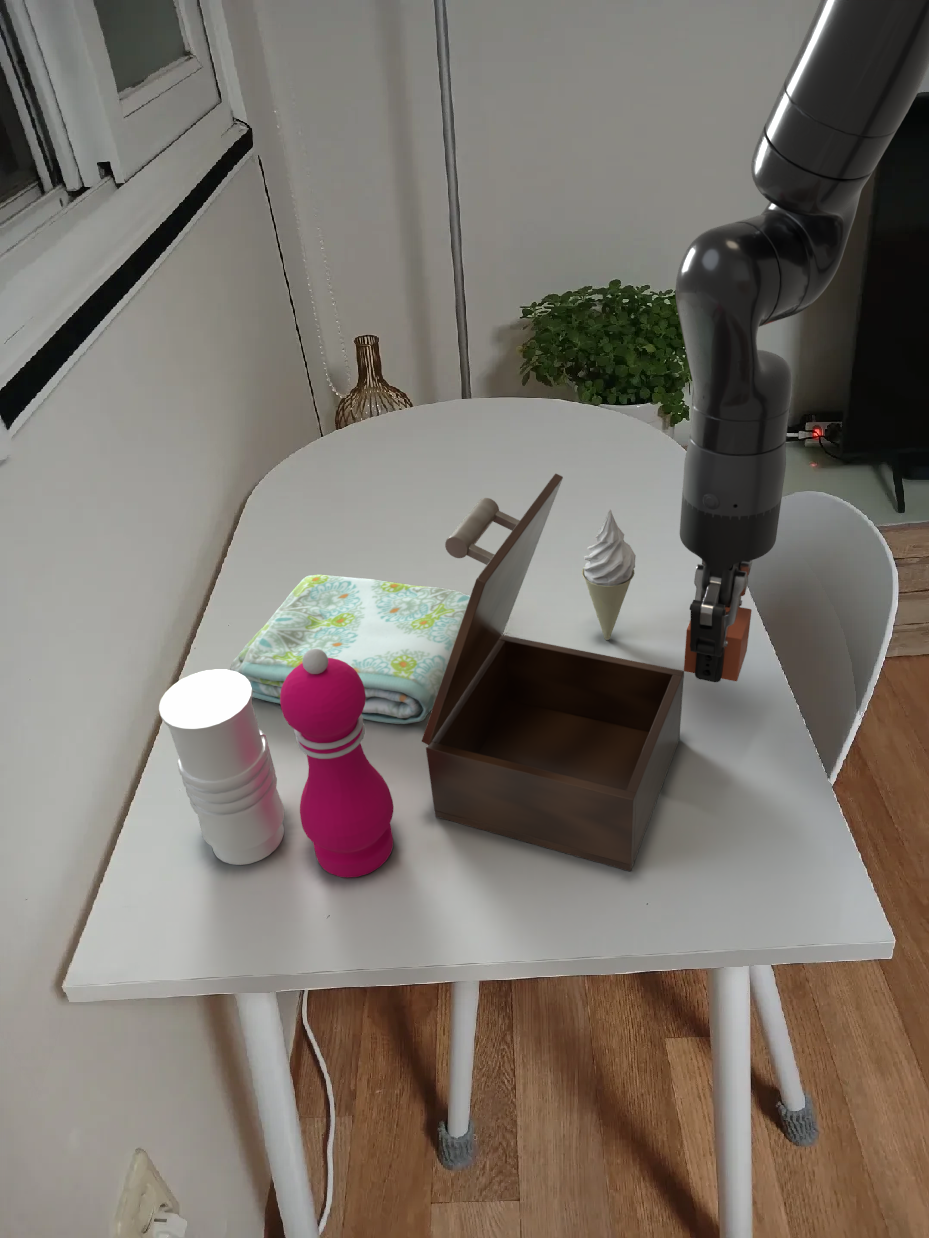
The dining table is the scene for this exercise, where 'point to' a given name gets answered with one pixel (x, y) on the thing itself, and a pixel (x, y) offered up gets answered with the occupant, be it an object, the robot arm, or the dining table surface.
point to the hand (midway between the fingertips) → (714, 659)
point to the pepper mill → (337, 767)
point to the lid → (488, 591)
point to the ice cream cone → (609, 573)
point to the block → (734, 649)
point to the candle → (225, 764)
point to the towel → (361, 641)
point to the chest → (559, 749)
